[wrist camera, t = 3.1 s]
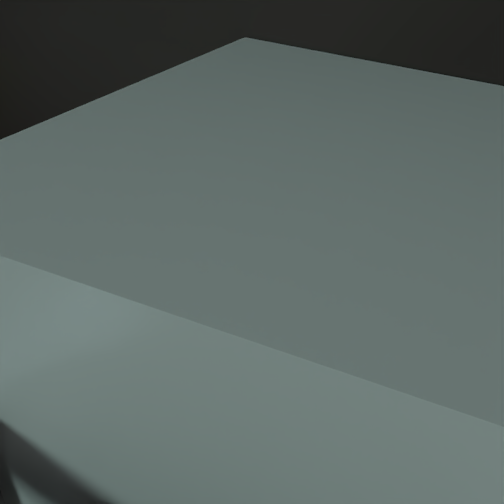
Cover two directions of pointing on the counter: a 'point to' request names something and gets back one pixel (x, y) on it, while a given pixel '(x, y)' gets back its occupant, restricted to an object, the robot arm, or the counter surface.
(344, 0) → the counter surface
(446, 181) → the grey rectangular block
